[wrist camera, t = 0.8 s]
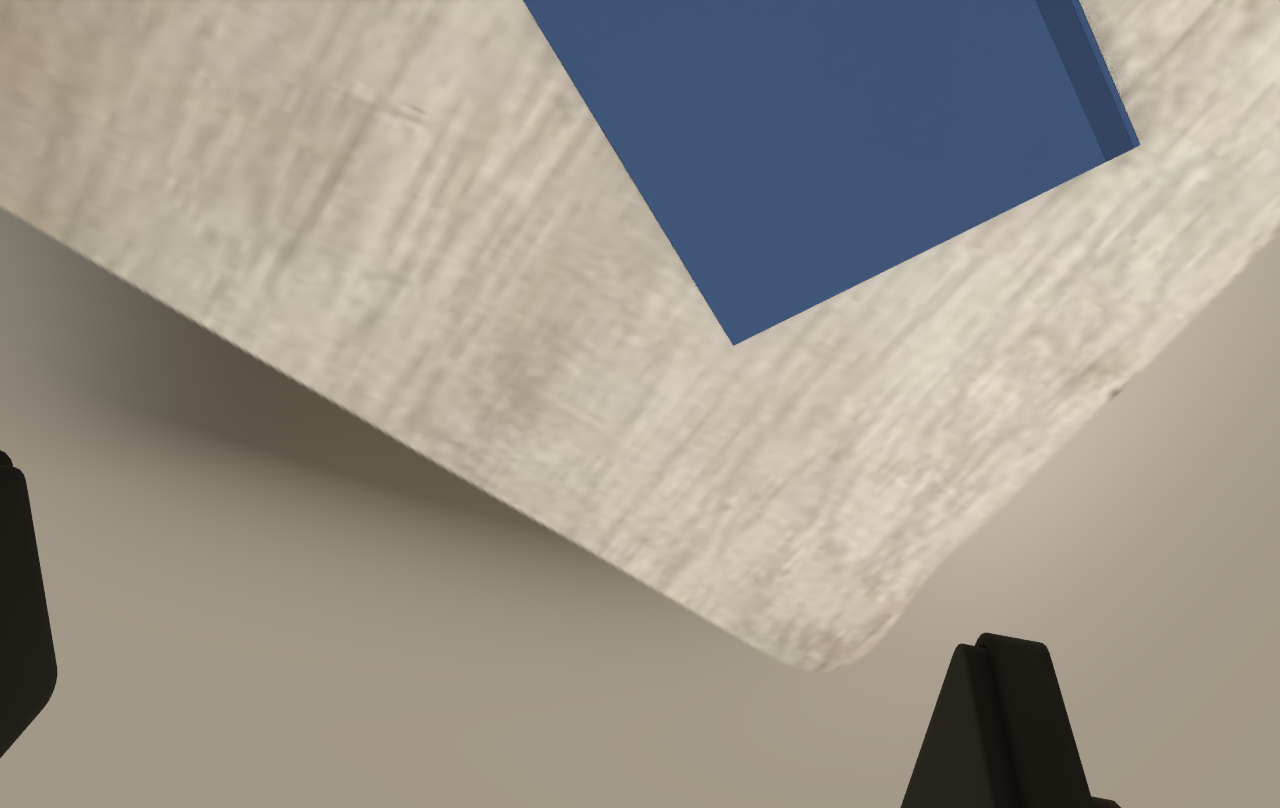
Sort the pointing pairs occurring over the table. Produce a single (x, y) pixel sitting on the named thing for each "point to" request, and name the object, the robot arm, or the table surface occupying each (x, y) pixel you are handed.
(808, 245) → the folder
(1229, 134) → the table surface
